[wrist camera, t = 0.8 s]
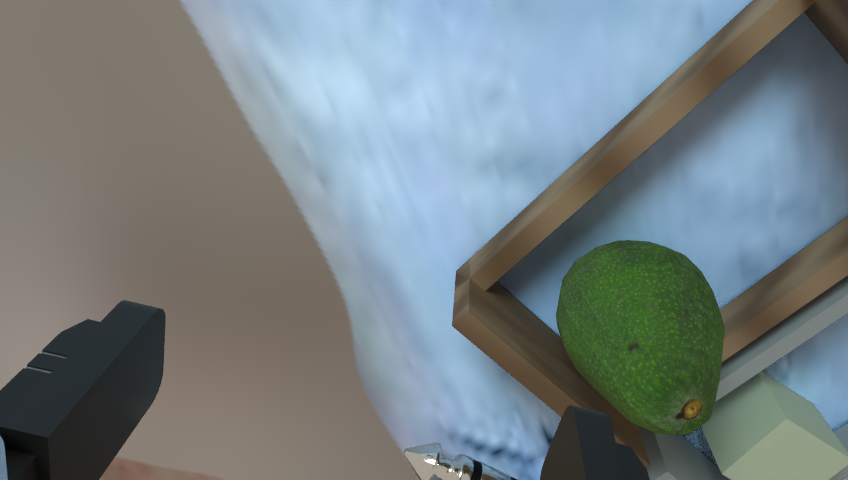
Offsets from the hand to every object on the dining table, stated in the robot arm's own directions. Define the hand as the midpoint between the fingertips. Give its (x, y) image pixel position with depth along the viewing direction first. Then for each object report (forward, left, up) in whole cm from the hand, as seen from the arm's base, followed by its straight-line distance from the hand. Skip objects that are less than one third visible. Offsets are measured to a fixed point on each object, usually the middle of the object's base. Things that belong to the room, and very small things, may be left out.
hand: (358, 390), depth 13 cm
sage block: (+1, +28, -25) cm, 38 cm away
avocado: (0, +15, -25) cm, 29 cm away
